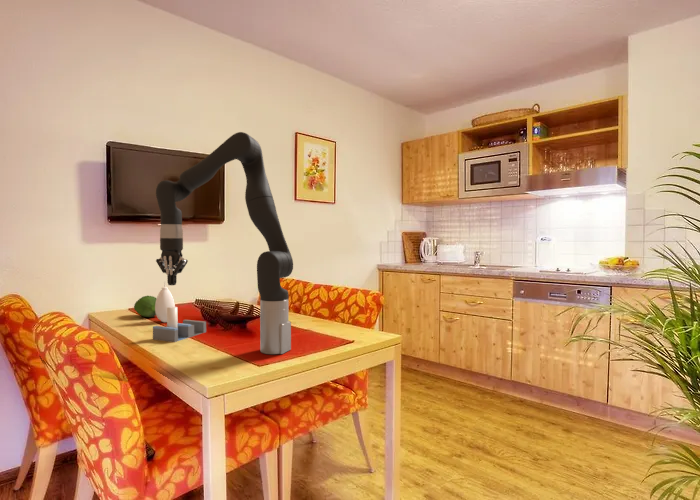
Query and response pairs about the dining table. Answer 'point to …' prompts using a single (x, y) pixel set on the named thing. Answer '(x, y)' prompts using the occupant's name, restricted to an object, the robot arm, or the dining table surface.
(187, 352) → the dining table surface
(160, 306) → the white egg candle
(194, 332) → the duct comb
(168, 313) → the white rectangular bar
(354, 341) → the dining table surface
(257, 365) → the dining table surface
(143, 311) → the fruit
